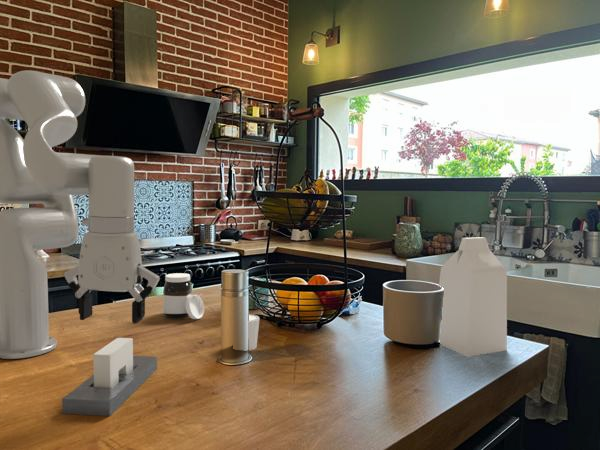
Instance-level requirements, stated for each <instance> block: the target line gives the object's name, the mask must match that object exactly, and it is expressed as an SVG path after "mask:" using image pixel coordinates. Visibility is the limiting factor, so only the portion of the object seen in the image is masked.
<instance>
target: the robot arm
mask: <svg viewBox="0 0 600 450" xmlns="http://www.w3.org/2000/svg"><path fill="white" fill-rule="evenodd" d="M84 91H85V90H83V88H82V87H81V85H80V84H79V83H78V82H77V81H76V80H74V79H73V78H70V77H67V76H63V75H58V74H52V73H46V72H42V71H38V70H30V69H29V70H27V69H26V70H20V71H17V72H15V73H14V74H12V75H11V76H10V77H9V79H8V78H2V77H0V203H1V204H4V205H5V204H6V205H7V204H8V205H34V204H35V205H39V204H40V205H41V204H42V205H43V207H36V206H35V207H15V208H14V207H13V208H7V209H3V210H1V211H0V359H4V360H5V359H6V360H17V359H26V358H32V357H36V356H40V355H41V356H42V355H43V354H46V353H49V352H51V351H53V350H54V349H55V348H56V347H58V346H57V345H58V340H57V339H56V338H55V337H54V336H53V337H52V336H50V328H49V327H50V324H49V321H50V320H49V318H50V317H49V286H48V285H49V284H48V269H47V267H46V265H45V263H44V262H43V261H42V259H40V257H39V256H38V255H37V254H36V251H41V250H51V249H52V250H53V249H61V248H67V247H69V246H72V245H73V244H75V243H76V242H77V239H78V237H79V231H80V229H79V221H78V214H77V210H76V205H75V201H74V198H73V196H88V215H87V217H83V218H82V220H81V224H82V226H86V227H87V231H88V232H85V233H84V234H83V236H82V240H81V246H80V249H79V250H80V251H79V259H78V265H77V266H75V267H73V268H70V269H68V270H67V271H64V273H63V276H64V278H65V280H66V282H67V284H68V288H69V289H71V291H72V292H73V293H74V296H75V297H76V298H77V299H78V300H77V301H78V307H77V308H78V314H79V320H80V321H85V320H86V319H89V318H90V317H92V316H93V295H92V294H90V293H91V291H99V292H101V291H102V292H116V293H117V292H118V293H125V292H126V293H127V292H129V293H130V295H131V296H132V298H134V301H132V302H131V323H133V324H138V323H139V322H141V321H142V320H143V319H144V317H145V315H146V299H147V297H148V296H149V295H151V294H152V293H153V292H154V291H155V289H156V287H157V285H158V283H159V281H160V280H161V277H160V276H159V275H158V274H157V273H154V272H153V271H151V270H149V269H148V268H146V267H144V266H143V262H142V261H143V259H142V252H141V245H140V240H139V236H138V233H135V163H134V161H133V160H132V159H131V158H129V157H127V156H118V155H100V154H98V155H97V154H87V153H86V154H85V153H71V152H56V151H55V150H53V149H52V148H54V147H56V146H58V145H61V144H64V143H66V142H67V141H69V140H70V139H71V138H72V137H73V136H74V135H75V133H76V131H77V130H78V129H77V128H78V119H77V117H79V116H80V115H81V114H82V113H83V112H84V109H85V106H86V95H85V92H84ZM6 119H8V120H17V121H24V122H25V124H26V125H27V127H28V128H29V129H28V131H27V132H26V133H25V136H24V138H23V137H22V136H21V134H20V133H19V132H18V131H17V130H16V128H15V127H13V126H12V125H11V124H9V122H8V121H7V120H6ZM77 275H78V276H77ZM143 278H144V279H145V280H147V285H146V287H145V288H144V287H143V286H142V282H143Z"/></svg>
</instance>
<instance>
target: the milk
mask: <svg viewBox="0 0 600 450" xmlns="http://www.w3.org/2000/svg"><path fill="white" fill-rule="evenodd" d="M439 273H440V274H439V281H438V282H439V284H438V288H439V287H440V286H441V288H442V287H443V288H444V297H443V307H442V320H441V333H440V344H441V346H443V347H445V348H447V349H449V350H451V351H453V352H455V351H456V352H455V353H457V352H458V354H459V355H461V356H464V357H467V358H469V357H474V355H476V356H481V355H480V354H482V355H486V354H487V353H488V354H494V353H499V352H505V351H507V349H508V347H507V345H508V341H507V340H508V339H507V338H508V336H507V335H508V328H507V327H508V274H507V273H508V272H507V271H506V268H505V266H504V265H503V264H502V263H501V262H500V260H499V259H498V258H497V257H496V256H495V254H494V252H492V250H491V249H490V247H489V244H488V240H487V238H486V237H482V236H481V237H479V236H478V237H462V238H461V241H460V244H459V248H458V250H456V252H454V253H453V254H452V255H451V256H450V257H449V258H448V259H447V260H446V261H444V263H443V264H442V266H441V268H440V272H439ZM440 344H439V345H440Z"/></svg>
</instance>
